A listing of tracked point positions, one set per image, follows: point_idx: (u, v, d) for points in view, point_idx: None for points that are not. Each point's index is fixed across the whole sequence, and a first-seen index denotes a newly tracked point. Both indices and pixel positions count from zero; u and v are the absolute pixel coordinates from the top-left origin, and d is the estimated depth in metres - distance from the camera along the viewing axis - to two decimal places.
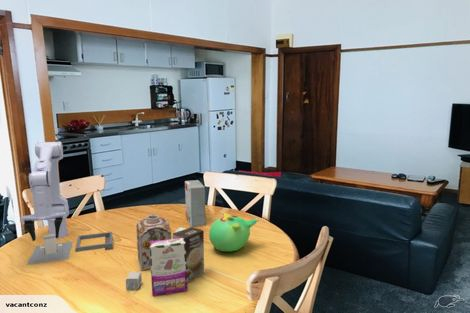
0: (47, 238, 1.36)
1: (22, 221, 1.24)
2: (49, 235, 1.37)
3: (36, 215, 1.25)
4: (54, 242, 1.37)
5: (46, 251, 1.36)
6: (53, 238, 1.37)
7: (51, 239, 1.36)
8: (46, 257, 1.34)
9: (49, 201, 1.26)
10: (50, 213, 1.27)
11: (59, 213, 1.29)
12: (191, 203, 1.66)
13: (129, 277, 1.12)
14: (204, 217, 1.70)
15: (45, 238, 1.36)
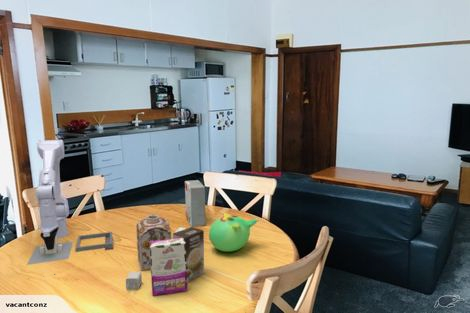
0: None
1: None
2: None
3: None
4: (54, 242, 1.37)
5: (46, 251, 1.36)
6: None
7: None
8: (46, 257, 1.34)
9: (54, 213, 1.36)
10: (44, 226, 1.34)
11: (46, 230, 1.32)
12: (191, 203, 1.66)
13: (129, 277, 1.12)
14: (204, 217, 1.70)
15: None
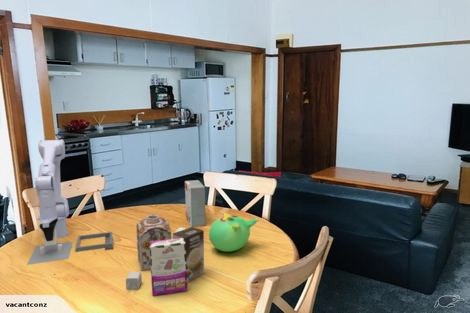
0: None
1: None
2: None
3: None
4: None
5: (45, 242, 1.36)
6: None
7: None
8: (46, 257, 1.34)
9: (54, 204, 1.35)
10: (43, 217, 1.33)
11: (45, 221, 1.31)
12: (191, 203, 1.66)
13: (129, 277, 1.12)
14: (204, 217, 1.70)
15: None
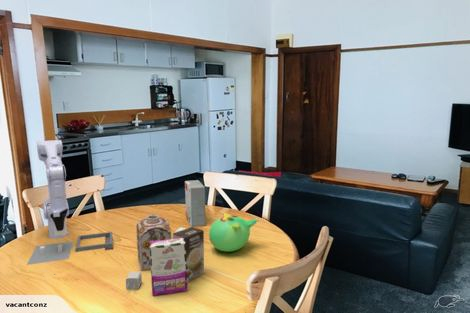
0: None
1: None
2: None
3: None
4: None
5: (55, 232, 1.38)
6: None
7: None
8: (46, 257, 1.34)
9: (65, 194, 1.37)
10: (54, 207, 1.35)
11: (56, 210, 1.33)
12: (191, 203, 1.66)
13: (129, 277, 1.12)
14: (204, 217, 1.70)
15: None
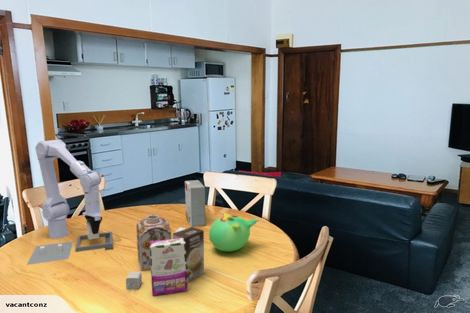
0: None
1: None
2: None
3: None
4: None
5: (90, 237, 1.45)
6: None
7: None
8: (46, 257, 1.34)
9: None
10: (91, 212, 1.43)
11: (96, 214, 1.41)
12: (191, 203, 1.66)
13: (129, 276, 1.12)
14: (204, 217, 1.70)
15: (89, 224, 1.44)
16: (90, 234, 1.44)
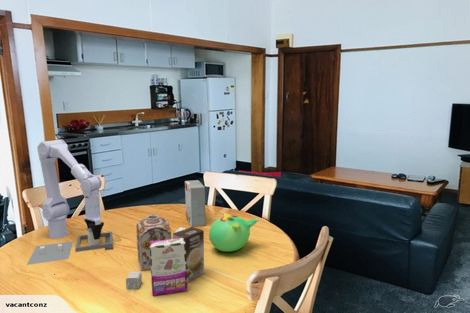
0: (91, 231, 1.45)
1: None
2: None
3: None
4: None
5: (90, 243, 1.45)
6: None
7: None
8: (46, 257, 1.34)
9: None
10: (91, 216, 1.43)
11: (96, 219, 1.41)
12: (191, 203, 1.66)
13: (129, 276, 1.13)
14: (204, 217, 1.70)
15: (90, 231, 1.44)
16: (90, 241, 1.45)
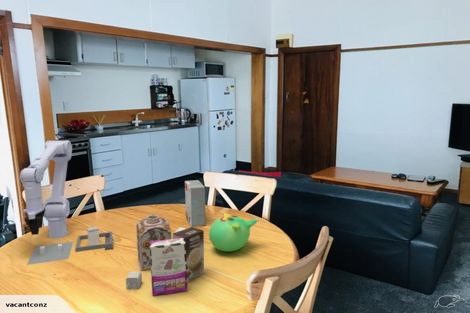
0: (91, 231, 1.45)
1: None
2: (92, 228, 1.46)
3: None
4: (97, 234, 1.46)
5: (90, 243, 1.45)
6: (96, 230, 1.46)
7: (95, 232, 1.46)
8: (46, 257, 1.34)
9: (38, 196, 1.35)
10: (29, 209, 1.34)
11: (32, 212, 1.32)
12: (191, 203, 1.66)
13: (129, 276, 1.13)
14: (204, 217, 1.70)
15: (90, 231, 1.44)
16: (90, 241, 1.45)
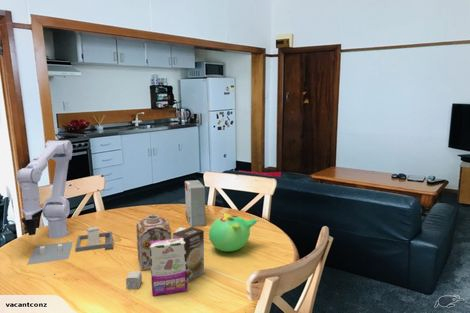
0: (91, 231, 1.45)
1: None
2: (92, 228, 1.46)
3: None
4: (97, 234, 1.46)
5: (90, 243, 1.45)
6: (96, 230, 1.46)
7: (95, 232, 1.46)
8: (46, 257, 1.34)
9: (35, 197, 1.35)
10: (26, 209, 1.34)
11: (28, 213, 1.32)
12: (191, 203, 1.66)
13: (129, 276, 1.13)
14: (204, 217, 1.70)
15: (90, 231, 1.44)
16: (90, 241, 1.45)
